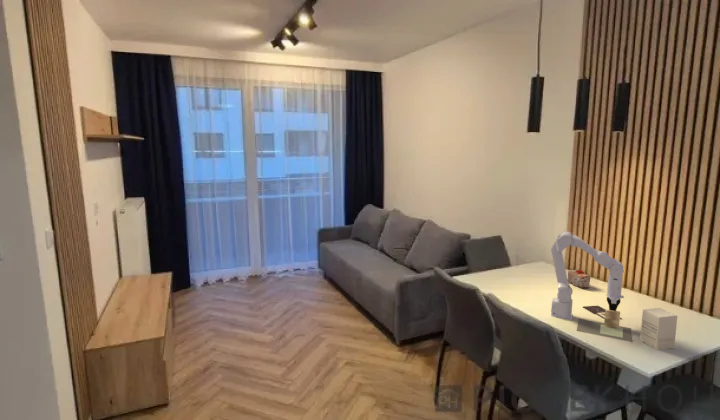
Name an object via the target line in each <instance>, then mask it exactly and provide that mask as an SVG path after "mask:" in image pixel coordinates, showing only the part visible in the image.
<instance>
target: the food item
mask: <svg viewBox="0 0 720 420" xmlns="http://www.w3.org/2000/svg"><path fill="white" fill-rule="evenodd" d="M567 279H568V282H569V284H572V286H574V287H578V288H580V289H589V288H590V283H591V276H590V275H587V274H586V273H585V272H584V271H583V270H580V269H578V270H577V269H570V270H568V273H567Z"/></svg>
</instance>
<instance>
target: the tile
mask: <svg viewBox="0 0 720 420" xmlns="http://www.w3.org/2000/svg"><path fill="white" fill-rule="evenodd" d="M604 309H605V319H604V322H603V323H604V326H606V327H611V328H616V329H619V326H620V320H621V319H620V318H621V311H619V310H616V311H614V310H609V308H608V309H607V308H604Z"/></svg>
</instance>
